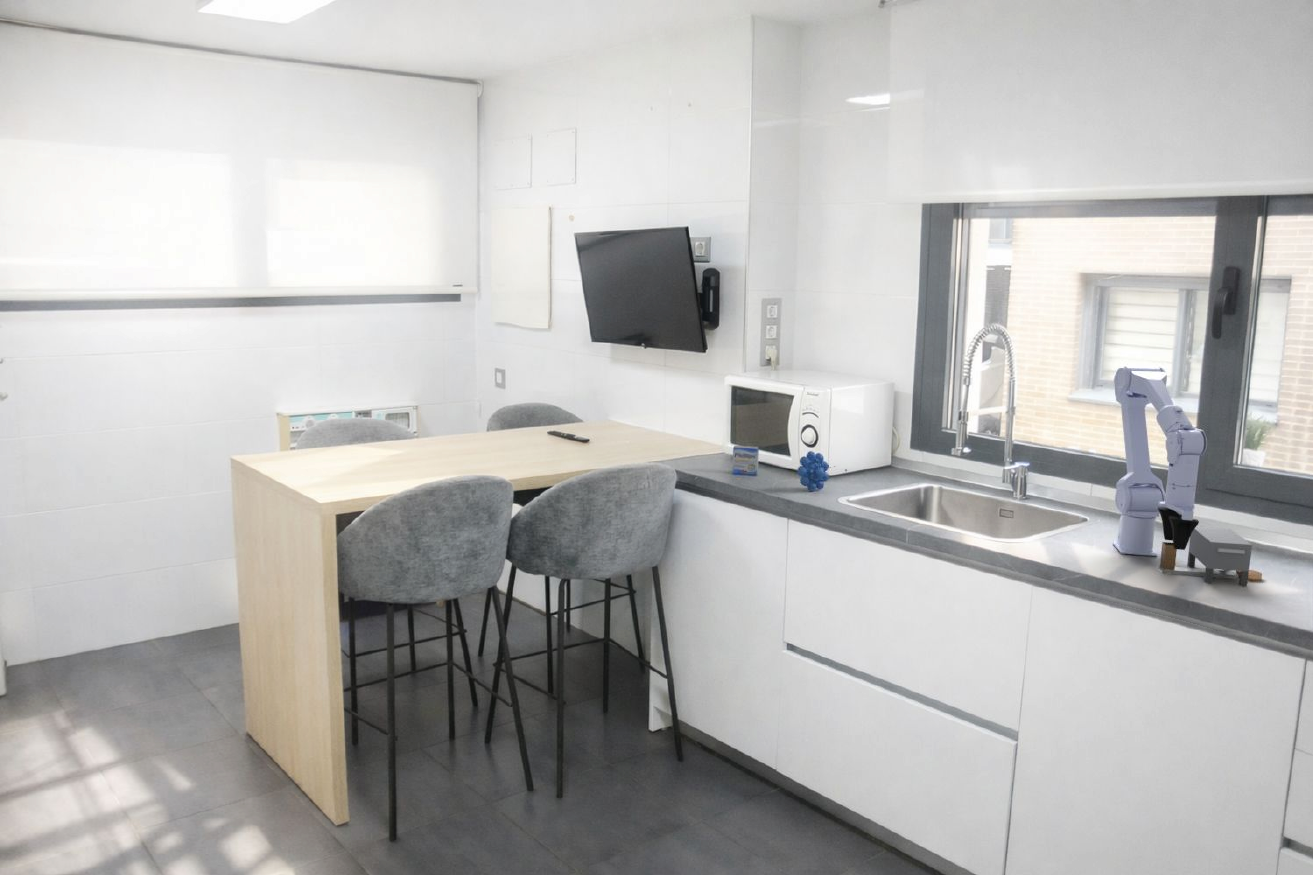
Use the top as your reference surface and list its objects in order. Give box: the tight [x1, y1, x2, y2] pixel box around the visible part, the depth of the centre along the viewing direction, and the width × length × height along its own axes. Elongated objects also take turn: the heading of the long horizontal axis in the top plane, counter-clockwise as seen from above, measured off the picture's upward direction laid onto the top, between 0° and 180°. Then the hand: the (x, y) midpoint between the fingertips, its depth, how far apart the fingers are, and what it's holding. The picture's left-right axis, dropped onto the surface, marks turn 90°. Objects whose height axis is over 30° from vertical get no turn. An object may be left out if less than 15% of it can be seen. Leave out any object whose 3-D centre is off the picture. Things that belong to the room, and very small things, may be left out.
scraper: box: [1158, 541, 1239, 580], centre depth 226 cm, size 3×15×6 cm, turn 78°
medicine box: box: [731, 445, 760, 477], centre depth 324 cm, size 8×4×9 cm, turn 80°
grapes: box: [796, 450, 830, 492], centre depth 299 cm, size 12×7×12 cm, turn 123°
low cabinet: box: [1186, 526, 1253, 587], centre depth 225 cm, size 15×8×9 cm, turn 168°
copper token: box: [1235, 569, 1263, 582], centre depth 224 cm, size 5×5×2 cm
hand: (1174, 544), depth 227 cm, fingers open, 7 cm apart
